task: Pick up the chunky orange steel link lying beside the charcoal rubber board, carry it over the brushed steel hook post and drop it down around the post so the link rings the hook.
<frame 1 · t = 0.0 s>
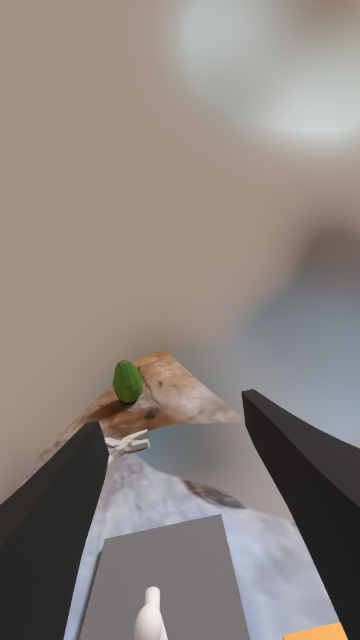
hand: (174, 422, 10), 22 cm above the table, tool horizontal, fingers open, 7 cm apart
avocado: (132, 400, 56), on the table
pliers: (111, 454, 39), on the table
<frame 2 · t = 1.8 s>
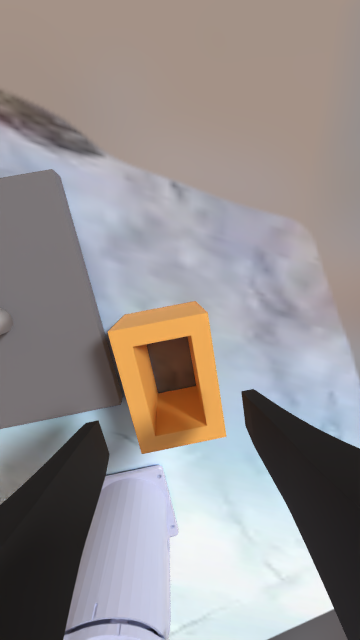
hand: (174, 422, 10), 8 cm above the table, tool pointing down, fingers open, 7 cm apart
hook board: (8, 317, 16), on the table
orange link: (170, 357, 18), on the table
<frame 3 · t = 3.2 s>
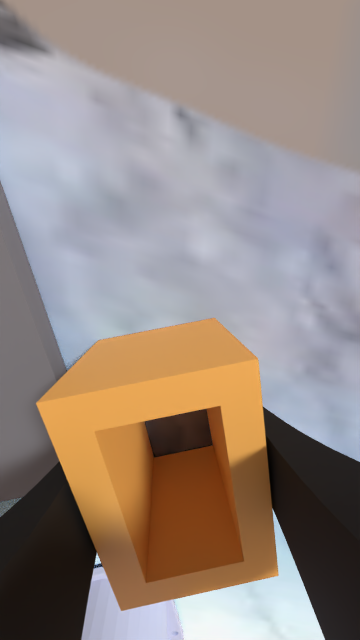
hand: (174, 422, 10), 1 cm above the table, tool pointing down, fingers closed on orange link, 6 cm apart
orange link: (173, 404, 11), on the table, touching gripper
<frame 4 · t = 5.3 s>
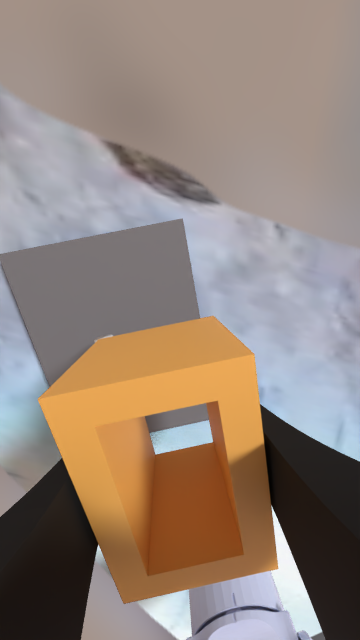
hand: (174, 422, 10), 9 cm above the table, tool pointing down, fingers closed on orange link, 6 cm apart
hook board: (124, 343, 18), on the table
orange link: (173, 402, 11), point 7 cm above the table, touching gripper
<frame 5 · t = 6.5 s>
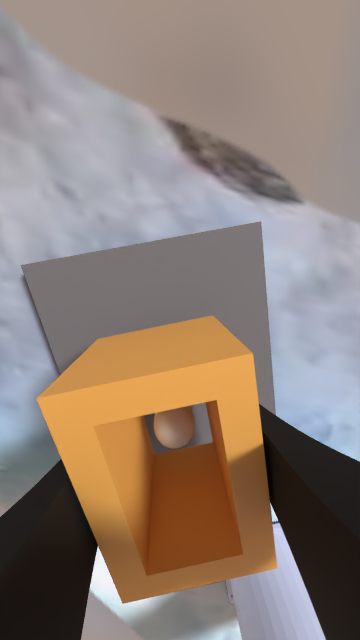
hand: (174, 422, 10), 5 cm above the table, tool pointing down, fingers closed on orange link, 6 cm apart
hook board: (171, 373, 15), on the table
orange link: (173, 401, 11), point 3 cm above the table, touching gripper
when the fingers open (5 cm above the table, at t = 7.4 s): orange link drops 2 cm, resting on hook board.
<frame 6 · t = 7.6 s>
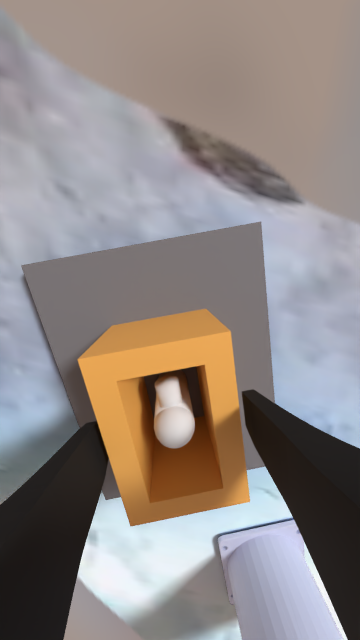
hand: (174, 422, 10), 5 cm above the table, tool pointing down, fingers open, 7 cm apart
hook board: (171, 373, 15), on the table
orange link: (171, 380, 14), point 1 cm above the table, touching hook board
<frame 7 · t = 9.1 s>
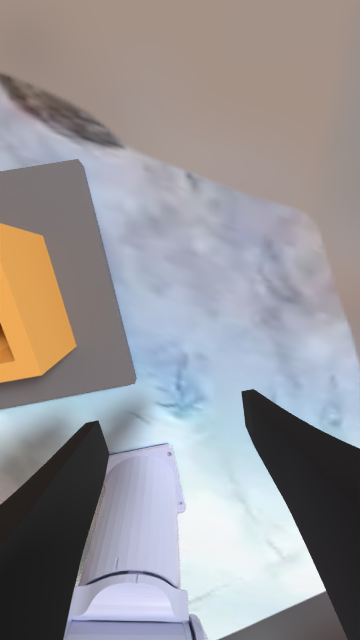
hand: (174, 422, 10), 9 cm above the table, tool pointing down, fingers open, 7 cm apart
hook board: (31, 299, 17), on the table
orange link: (23, 300, 16), point 1 cm above the table, touching hook board
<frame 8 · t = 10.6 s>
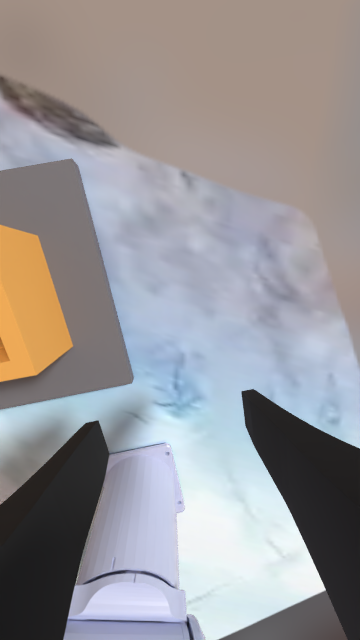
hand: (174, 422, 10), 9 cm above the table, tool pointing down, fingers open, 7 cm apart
hook board: (28, 300, 17), on the table
orange link: (19, 301, 16), point 1 cm above the table, touching hook board
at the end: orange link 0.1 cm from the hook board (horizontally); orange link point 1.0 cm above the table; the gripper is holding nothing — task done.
